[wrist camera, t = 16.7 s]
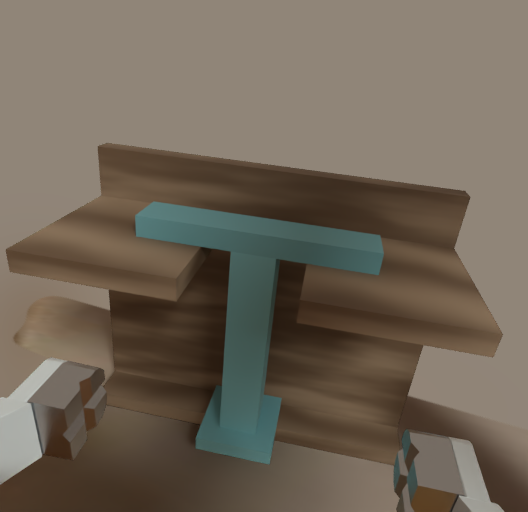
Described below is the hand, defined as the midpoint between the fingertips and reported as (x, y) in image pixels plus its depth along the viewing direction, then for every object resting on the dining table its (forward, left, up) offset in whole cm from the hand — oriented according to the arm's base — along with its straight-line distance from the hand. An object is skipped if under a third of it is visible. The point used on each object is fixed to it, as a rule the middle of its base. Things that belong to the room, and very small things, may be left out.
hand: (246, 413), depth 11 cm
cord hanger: (-12, -13, -20) cm, 27 cm away
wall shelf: (-12, -13, -23) cm, 29 cm away
